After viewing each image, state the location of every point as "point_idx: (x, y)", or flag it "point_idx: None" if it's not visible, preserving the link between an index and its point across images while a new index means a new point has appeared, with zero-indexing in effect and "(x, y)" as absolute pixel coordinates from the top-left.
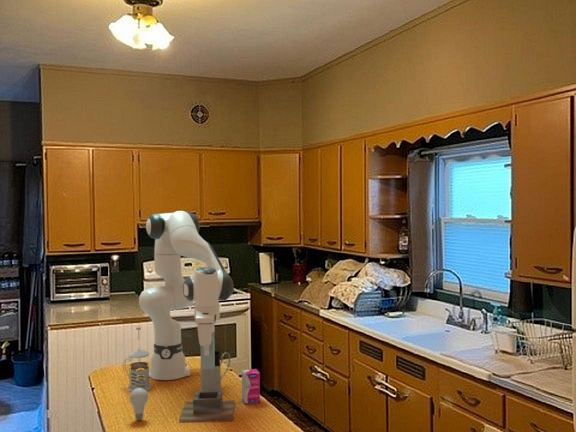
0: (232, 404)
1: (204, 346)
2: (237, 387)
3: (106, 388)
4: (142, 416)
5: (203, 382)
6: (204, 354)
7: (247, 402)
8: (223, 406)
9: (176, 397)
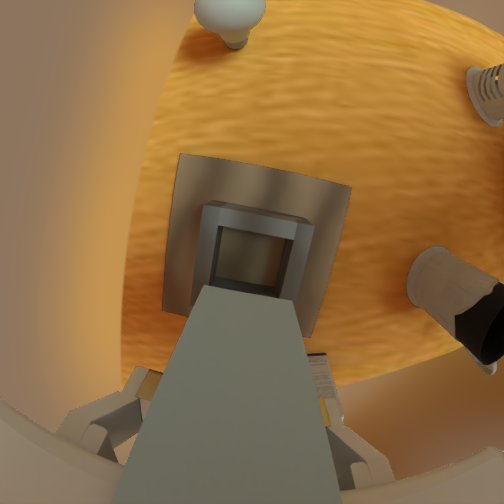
0: None
1: (74, 418)
2: (421, 344)
3: (482, 37)
4: (229, 45)
5: (441, 265)
6: (136, 369)
7: None
8: None
9: (416, 168)
